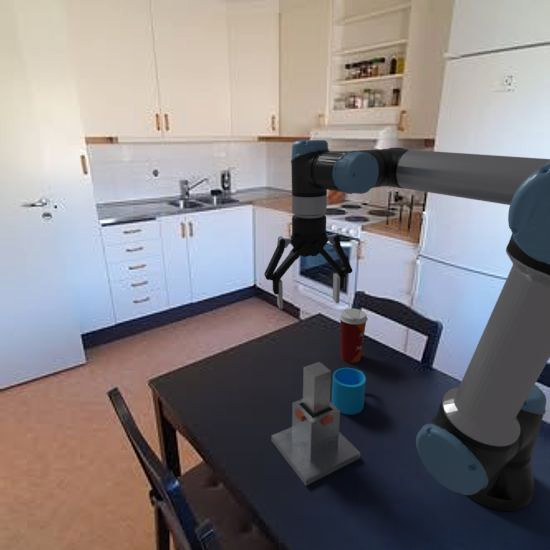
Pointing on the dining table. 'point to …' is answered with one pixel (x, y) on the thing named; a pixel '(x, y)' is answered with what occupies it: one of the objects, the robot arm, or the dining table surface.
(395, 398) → the dining table surface
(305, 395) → the column
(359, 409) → the mug
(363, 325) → the coffee cup
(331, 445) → the stand base
